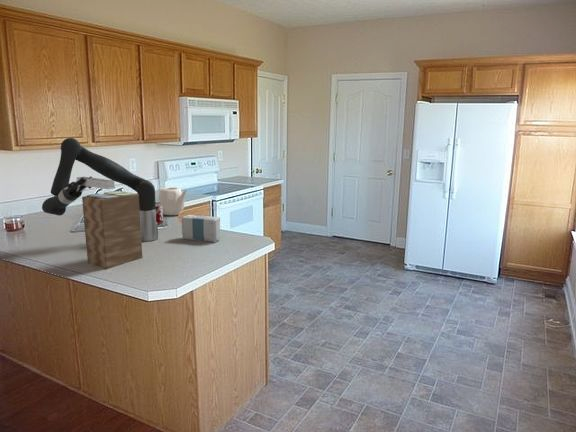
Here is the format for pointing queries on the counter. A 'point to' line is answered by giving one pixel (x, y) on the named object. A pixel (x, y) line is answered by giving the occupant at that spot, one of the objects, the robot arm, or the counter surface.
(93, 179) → the bar
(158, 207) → the soda can
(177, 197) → the cream teapot
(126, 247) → the stand
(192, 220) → the white banded box
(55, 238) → the counter surface
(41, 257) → the counter surface
